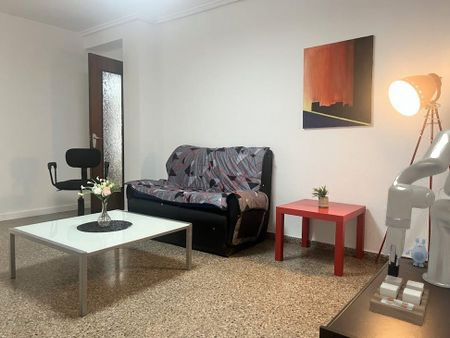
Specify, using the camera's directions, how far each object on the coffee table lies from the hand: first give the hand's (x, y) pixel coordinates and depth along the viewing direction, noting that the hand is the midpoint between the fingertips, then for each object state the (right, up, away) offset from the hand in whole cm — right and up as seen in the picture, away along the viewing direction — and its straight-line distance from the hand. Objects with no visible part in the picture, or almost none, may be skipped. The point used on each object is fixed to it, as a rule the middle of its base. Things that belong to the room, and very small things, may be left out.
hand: (392, 275), depth 115 cm
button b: (+6, -5, -3) cm, 8 cm away
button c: (-4, -4, -6) cm, 9 cm away
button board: (-1, -7, -6) cm, 9 cm away
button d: (+1, -5, -10) cm, 11 cm away
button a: (0, -4, +1) cm, 4 cm away
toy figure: (+26, -6, +30) cm, 40 cm away
